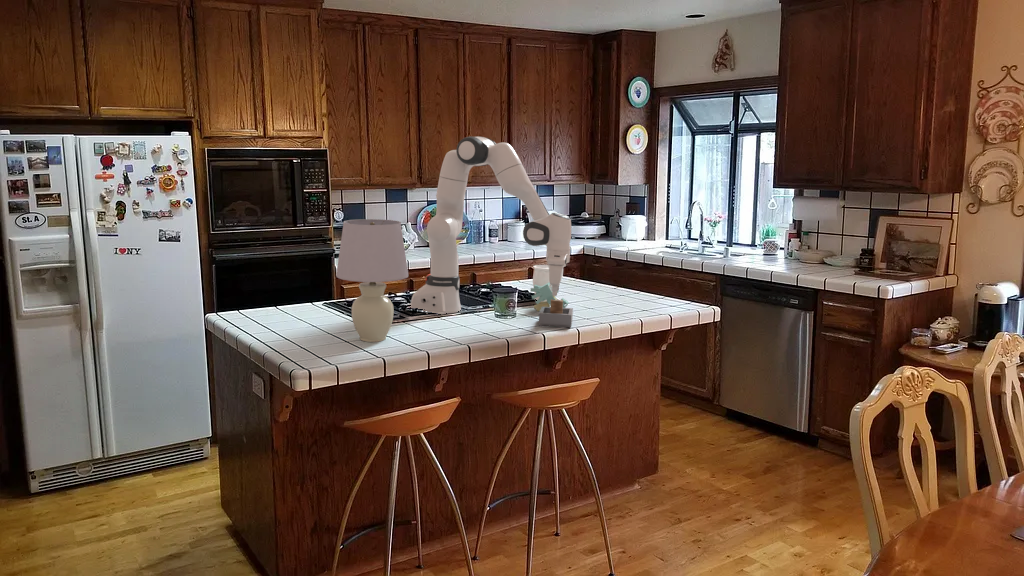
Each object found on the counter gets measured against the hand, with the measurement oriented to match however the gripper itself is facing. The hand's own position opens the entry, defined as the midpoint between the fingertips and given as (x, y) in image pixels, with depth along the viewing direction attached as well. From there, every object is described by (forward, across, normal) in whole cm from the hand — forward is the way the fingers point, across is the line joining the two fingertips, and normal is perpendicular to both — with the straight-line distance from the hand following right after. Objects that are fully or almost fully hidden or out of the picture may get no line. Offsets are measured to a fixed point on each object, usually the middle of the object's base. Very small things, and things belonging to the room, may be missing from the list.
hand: (555, 293), depth 295 cm
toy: (+12, -23, -3) cm, 26 cm away
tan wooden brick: (+11, 0, +1) cm, 11 cm away
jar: (+12, -43, -7) cm, 45 cm away
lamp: (+14, +38, -59) cm, 72 cm away
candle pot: (+12, 0, +1) cm, 12 cm away
